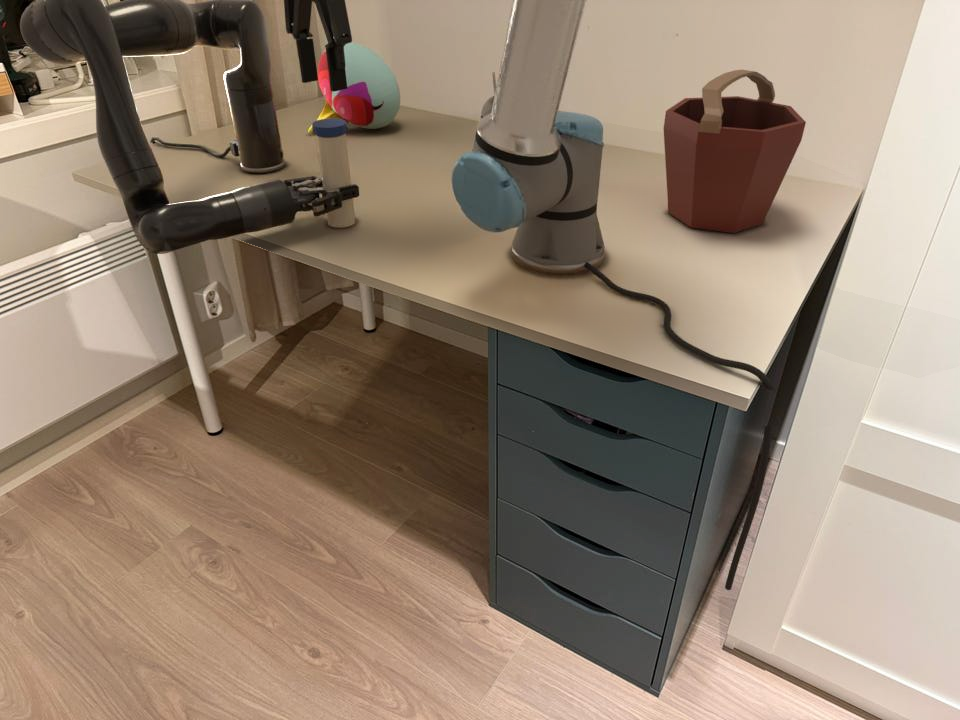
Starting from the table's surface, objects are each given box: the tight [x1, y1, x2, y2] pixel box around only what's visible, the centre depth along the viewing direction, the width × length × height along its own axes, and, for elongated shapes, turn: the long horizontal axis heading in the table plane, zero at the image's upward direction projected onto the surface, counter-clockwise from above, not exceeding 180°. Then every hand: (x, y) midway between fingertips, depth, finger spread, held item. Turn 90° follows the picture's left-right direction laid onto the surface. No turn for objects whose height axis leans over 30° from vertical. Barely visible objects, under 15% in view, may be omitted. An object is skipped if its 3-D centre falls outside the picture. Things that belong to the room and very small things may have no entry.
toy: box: [307, 41, 401, 135], centre depth 176 cm, size 24×24×20 cm
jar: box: [315, 133, 356, 229], centre depth 125 cm, size 5×5×18 cm
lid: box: [311, 118, 348, 137], centre depth 120 cm, size 6×6×2 cm
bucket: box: [663, 69, 807, 234], centre depth 125 cm, size 24×22×25 cm
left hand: (350, 185), depth 128 cm, fingers closed on jar, 5 cm apart
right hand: (324, 85), depth 117 cm, fingers open, 8 cm apart
